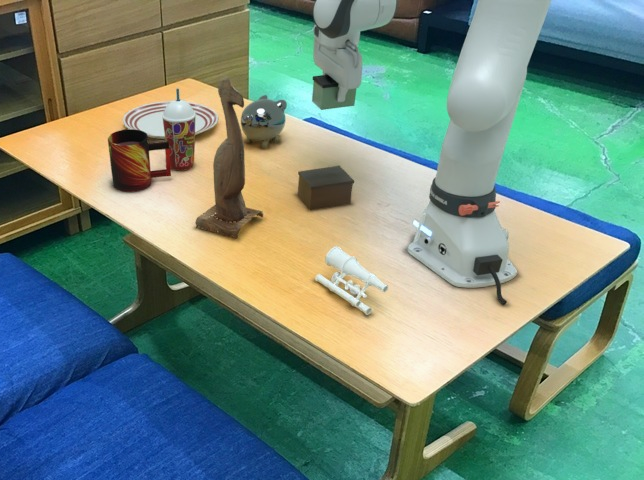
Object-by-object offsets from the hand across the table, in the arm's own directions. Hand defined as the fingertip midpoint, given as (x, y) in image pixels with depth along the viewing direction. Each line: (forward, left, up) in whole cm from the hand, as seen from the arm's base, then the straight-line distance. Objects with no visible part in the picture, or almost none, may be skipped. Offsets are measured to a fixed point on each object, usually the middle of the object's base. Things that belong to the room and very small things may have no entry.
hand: (333, 95), depth 162 cm
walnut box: (-17, +8, -18) cm, 26 cm away
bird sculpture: (-21, +32, -18) cm, 43 cm away
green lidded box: (0, 0, -2) cm, 2 cm away
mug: (+6, +48, -18) cm, 52 cm away
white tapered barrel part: (-54, +18, -18) cm, 60 cm away
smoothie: (+11, +36, -18) cm, 42 cm away
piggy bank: (+19, +11, -18) cm, 28 cm away
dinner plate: (+37, +33, -18) cm, 53 cm away
